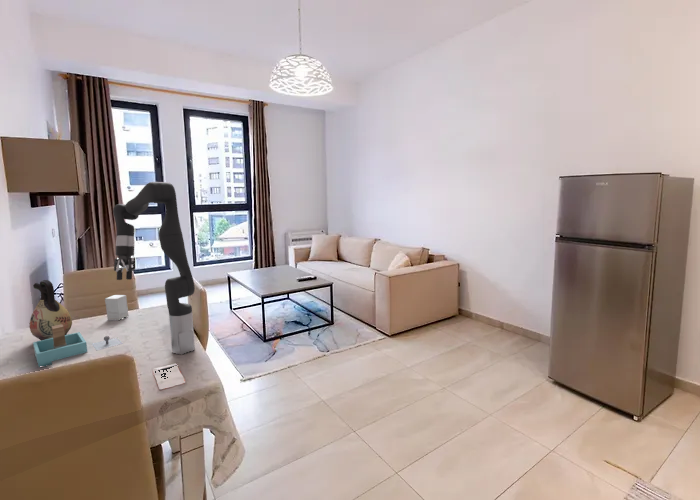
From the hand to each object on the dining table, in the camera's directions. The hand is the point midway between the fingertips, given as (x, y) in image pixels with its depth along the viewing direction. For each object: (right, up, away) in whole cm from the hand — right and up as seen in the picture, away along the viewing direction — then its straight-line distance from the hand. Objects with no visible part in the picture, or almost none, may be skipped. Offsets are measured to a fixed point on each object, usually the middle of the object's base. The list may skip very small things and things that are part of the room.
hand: (124, 279), depth 167 cm
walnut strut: (-17, -30, -15) cm, 38 cm away
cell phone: (+38, -35, -33) cm, 61 cm away
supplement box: (-23, -24, +30) cm, 45 cm away
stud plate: (-3, -30, -7) cm, 31 cm away
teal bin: (-17, -31, -15) cm, 39 cm away
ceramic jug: (-34, -29, +1) cm, 44 cm away
